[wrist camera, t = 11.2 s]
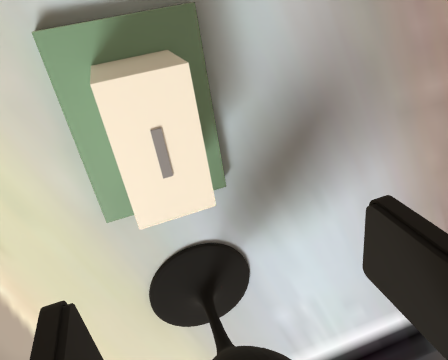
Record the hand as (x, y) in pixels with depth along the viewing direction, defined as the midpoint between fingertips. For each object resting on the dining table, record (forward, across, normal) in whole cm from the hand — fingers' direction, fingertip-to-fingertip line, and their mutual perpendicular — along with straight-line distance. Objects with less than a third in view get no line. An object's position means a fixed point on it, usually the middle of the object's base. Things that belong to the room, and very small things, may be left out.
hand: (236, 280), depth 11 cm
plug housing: (+17, +1, 0) cm, 17 cm away
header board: (+18, +1, 0) cm, 18 cm away
